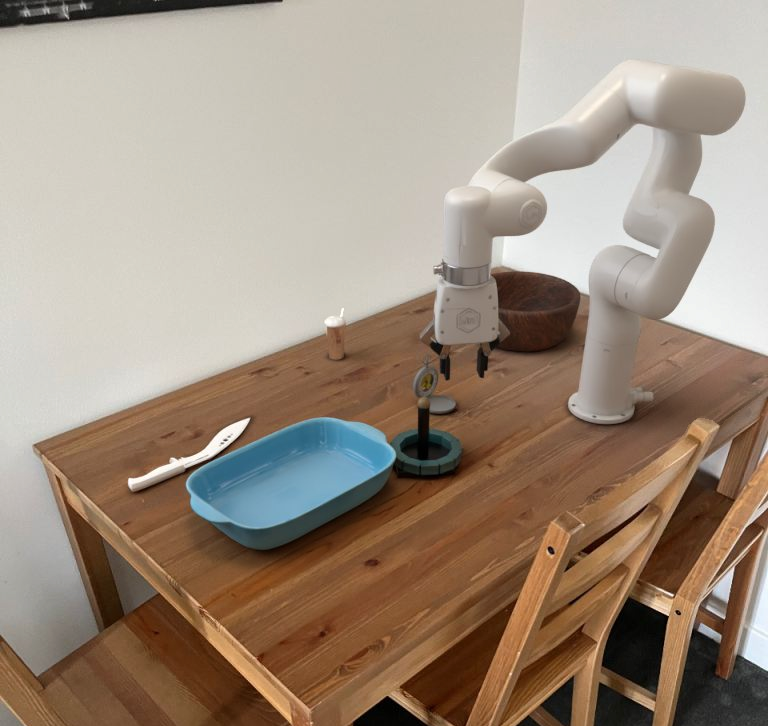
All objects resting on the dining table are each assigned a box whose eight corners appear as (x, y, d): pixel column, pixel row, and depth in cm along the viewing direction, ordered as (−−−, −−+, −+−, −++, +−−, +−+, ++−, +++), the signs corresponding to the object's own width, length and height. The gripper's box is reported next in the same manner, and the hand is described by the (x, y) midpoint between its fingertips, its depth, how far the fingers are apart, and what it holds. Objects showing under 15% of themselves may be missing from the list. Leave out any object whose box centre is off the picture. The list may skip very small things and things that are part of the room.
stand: (446, 444, 156) (448, 382, 149) (454, 474, 148) (458, 410, 141) (391, 447, 155) (391, 385, 148) (397, 478, 147) (397, 413, 140)
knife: (249, 413, 164) (274, 427, 160) (250, 420, 165) (275, 435, 161) (108, 468, 147) (132, 486, 142) (110, 476, 148) (133, 494, 143)
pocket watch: (453, 417, 164) (455, 370, 158) (410, 413, 166) (410, 366, 160) (458, 397, 171) (460, 351, 165) (417, 393, 172) (418, 347, 166)
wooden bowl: (584, 358, 185) (590, 313, 179) (468, 358, 185) (471, 313, 179) (565, 312, 205) (571, 270, 199) (461, 312, 205) (463, 270, 199)
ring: (455, 435, 157) (456, 426, 155) (466, 473, 146) (466, 464, 145) (387, 438, 156) (387, 429, 155) (393, 476, 146) (393, 467, 145)
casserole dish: (333, 436, 159) (331, 402, 155) (420, 483, 146) (421, 447, 142) (164, 520, 138) (157, 483, 134) (249, 583, 125) (244, 545, 121)
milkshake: (353, 353, 187) (351, 310, 181) (339, 363, 183) (337, 319, 178) (336, 349, 189) (334, 306, 183) (322, 358, 185) (319, 314, 180)
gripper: (415, 283, 129) (415, 389, 140) (526, 276, 130) (518, 382, 141) (409, 265, 135) (410, 368, 146) (515, 259, 136) (508, 362, 147)
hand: (463, 374), depth 144 cm, fingers open, 5 cm apart
